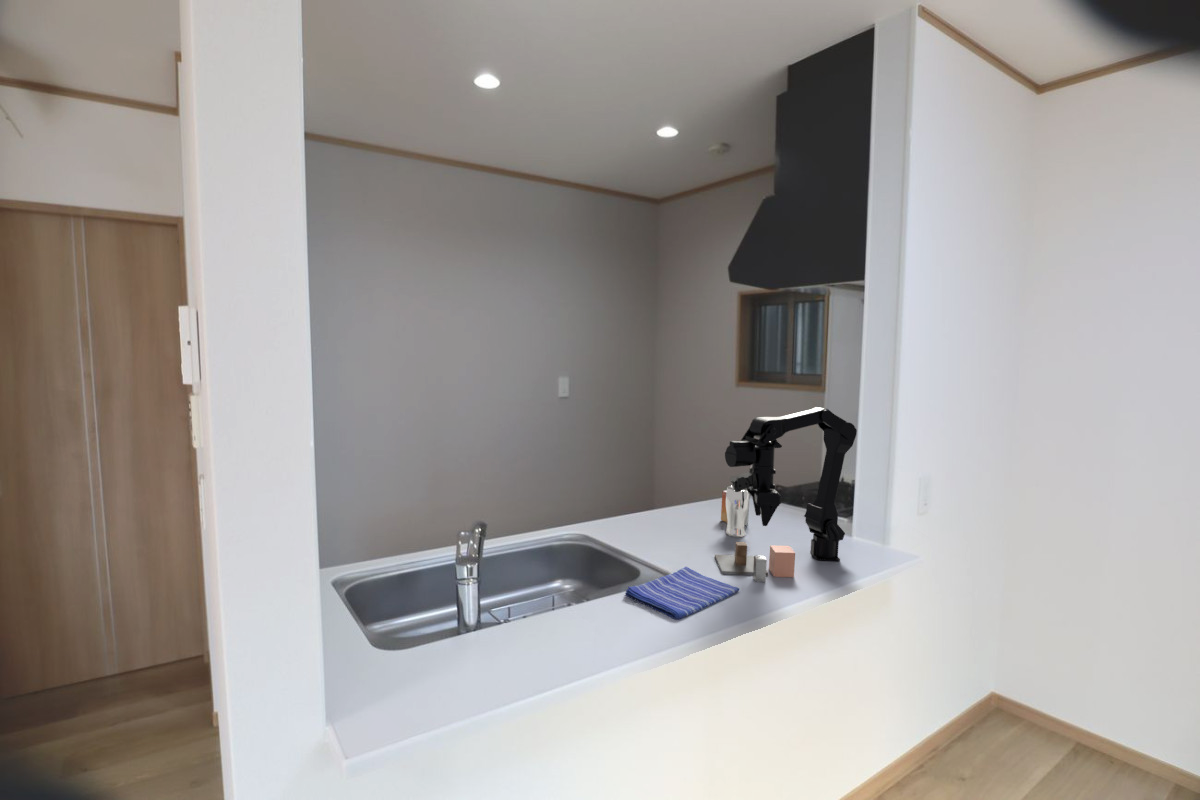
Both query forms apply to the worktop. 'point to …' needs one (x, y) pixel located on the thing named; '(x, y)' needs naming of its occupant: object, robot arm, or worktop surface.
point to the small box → (723, 509)
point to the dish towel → (681, 593)
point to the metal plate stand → (737, 561)
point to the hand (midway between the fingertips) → (761, 520)
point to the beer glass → (736, 511)
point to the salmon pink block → (781, 561)
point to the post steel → (759, 568)
